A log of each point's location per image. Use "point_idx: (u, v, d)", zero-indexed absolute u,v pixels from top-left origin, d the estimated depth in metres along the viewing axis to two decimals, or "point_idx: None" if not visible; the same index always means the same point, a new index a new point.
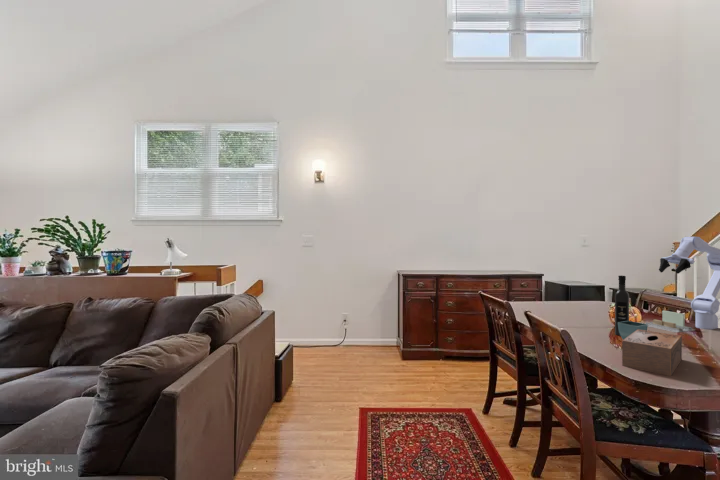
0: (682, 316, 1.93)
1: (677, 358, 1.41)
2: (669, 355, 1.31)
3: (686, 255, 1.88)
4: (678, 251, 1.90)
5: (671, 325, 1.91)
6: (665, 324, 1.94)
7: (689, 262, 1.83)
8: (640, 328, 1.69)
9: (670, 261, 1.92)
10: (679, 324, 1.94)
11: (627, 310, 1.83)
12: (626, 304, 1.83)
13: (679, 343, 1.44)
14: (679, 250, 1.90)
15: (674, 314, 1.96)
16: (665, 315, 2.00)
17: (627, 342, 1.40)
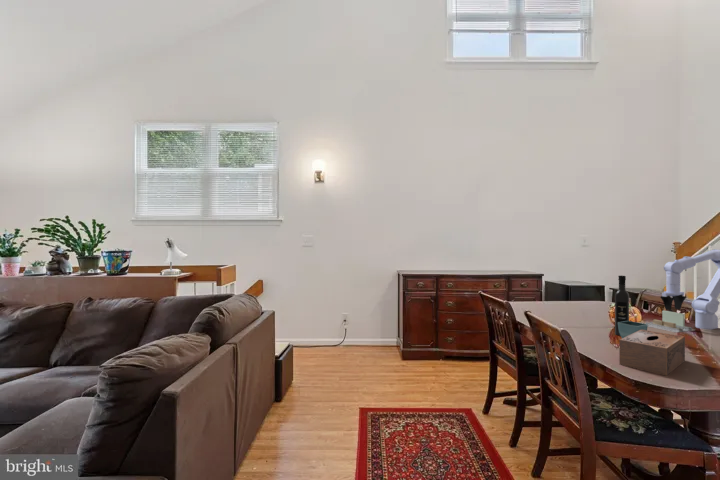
0: (682, 316, 1.93)
1: (677, 358, 1.40)
2: (665, 355, 1.32)
3: (669, 287, 1.97)
4: None
5: (671, 325, 1.91)
6: (665, 324, 1.94)
7: None
8: (640, 328, 1.69)
9: (676, 295, 1.98)
10: (679, 324, 1.94)
11: (627, 310, 1.83)
12: (626, 304, 1.83)
13: (681, 344, 1.43)
14: None
15: (674, 314, 1.96)
16: (665, 315, 2.00)
17: (624, 341, 1.41)
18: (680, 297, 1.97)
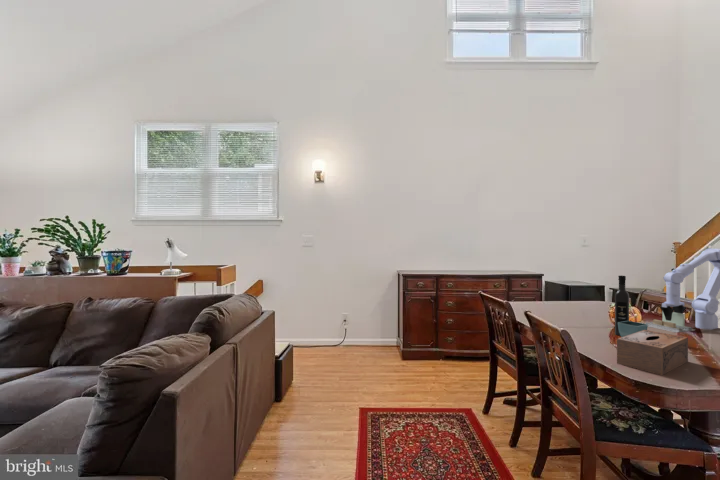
0: (682, 316, 1.93)
1: (677, 359, 1.40)
2: (661, 354, 1.32)
3: (669, 297, 1.97)
4: None
5: (671, 325, 1.91)
6: (665, 324, 1.94)
7: (665, 307, 1.96)
8: (640, 328, 1.69)
9: (676, 305, 1.98)
10: (679, 324, 1.94)
11: (627, 310, 1.83)
12: (626, 304, 1.83)
13: (682, 344, 1.43)
14: None
15: (674, 314, 1.96)
16: None
17: (621, 340, 1.43)
18: (680, 307, 1.97)
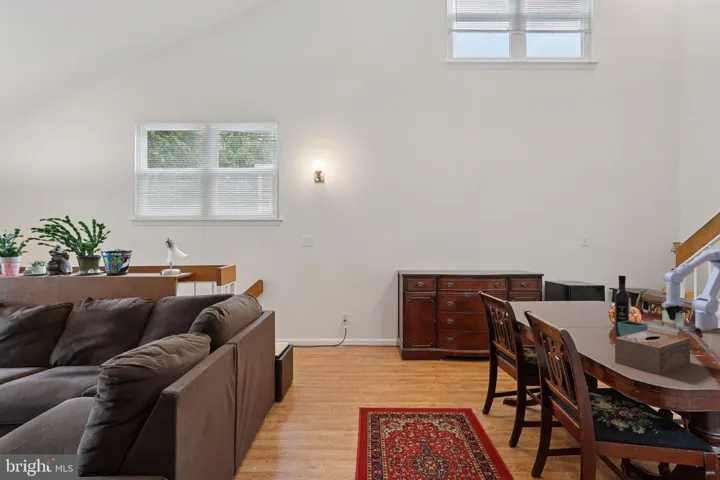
0: (682, 316, 1.93)
1: (677, 359, 1.40)
2: (657, 354, 1.33)
3: (669, 297, 1.97)
4: None
5: (671, 325, 1.91)
6: (665, 324, 1.94)
7: (665, 307, 1.96)
8: (640, 328, 1.69)
9: None
10: (679, 324, 1.94)
11: (627, 310, 1.83)
12: (626, 304, 1.83)
13: (683, 345, 1.42)
14: None
15: None
16: (665, 315, 2.00)
17: (619, 340, 1.44)
18: None
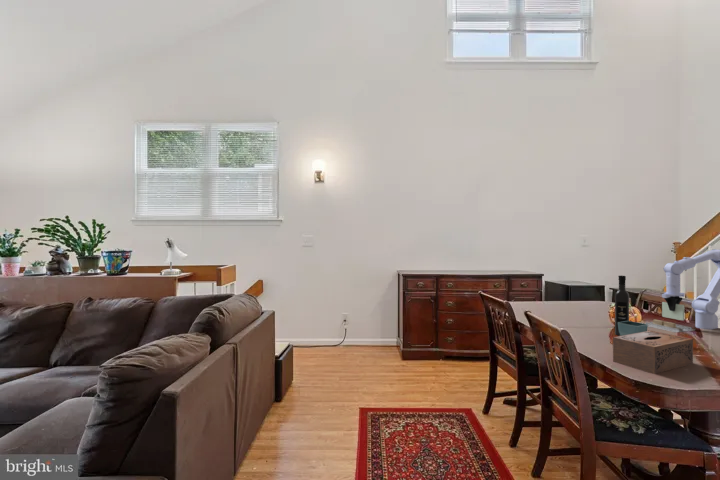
0: (682, 307, 1.93)
1: (677, 360, 1.39)
2: (653, 353, 1.33)
3: (669, 288, 1.97)
4: None
5: (671, 325, 1.91)
6: (665, 324, 1.94)
7: (665, 297, 1.95)
8: (640, 328, 1.69)
9: None
10: (679, 315, 1.94)
11: (627, 310, 1.83)
12: (626, 304, 1.83)
13: (684, 345, 1.41)
14: None
15: None
16: (665, 306, 2.01)
17: (617, 339, 1.45)
18: (676, 298, 1.96)
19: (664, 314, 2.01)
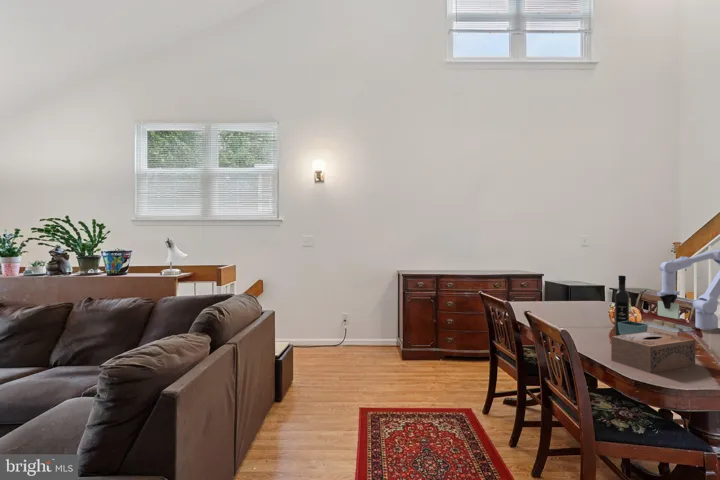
0: (677, 306, 1.96)
1: (677, 360, 1.39)
2: (648, 352, 1.34)
3: (664, 286, 2.00)
4: None
5: (671, 325, 1.91)
6: (665, 324, 1.94)
7: (660, 295, 1.99)
8: (640, 328, 1.69)
9: None
10: (674, 314, 1.97)
11: (627, 310, 1.83)
12: (626, 304, 1.83)
13: (685, 346, 1.40)
14: None
15: None
16: (660, 305, 2.04)
17: (615, 338, 1.46)
18: None
19: (660, 313, 2.04)
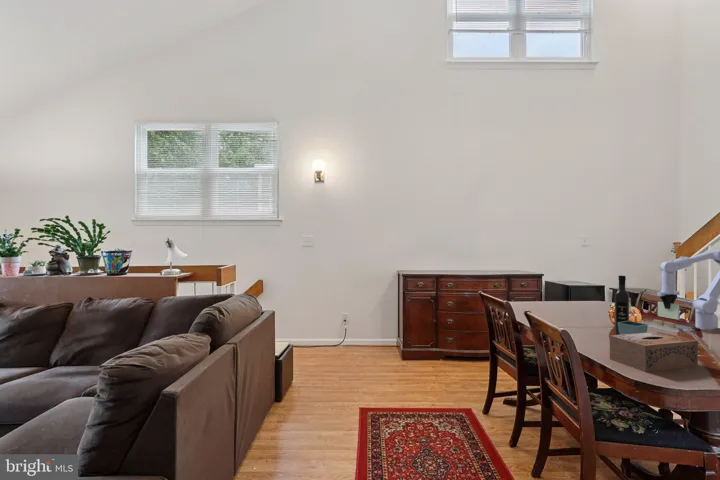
0: (677, 306, 1.96)
1: (676, 360, 1.38)
2: (643, 351, 1.35)
3: (664, 286, 2.00)
4: None
5: (671, 325, 1.91)
6: (665, 324, 1.94)
7: (660, 295, 1.99)
8: (640, 328, 1.69)
9: None
10: (674, 314, 1.97)
11: (627, 310, 1.83)
12: (626, 304, 1.83)
13: (686, 347, 1.39)
14: None
15: None
16: (660, 306, 2.04)
17: (613, 337, 1.47)
18: None
19: (660, 313, 2.04)
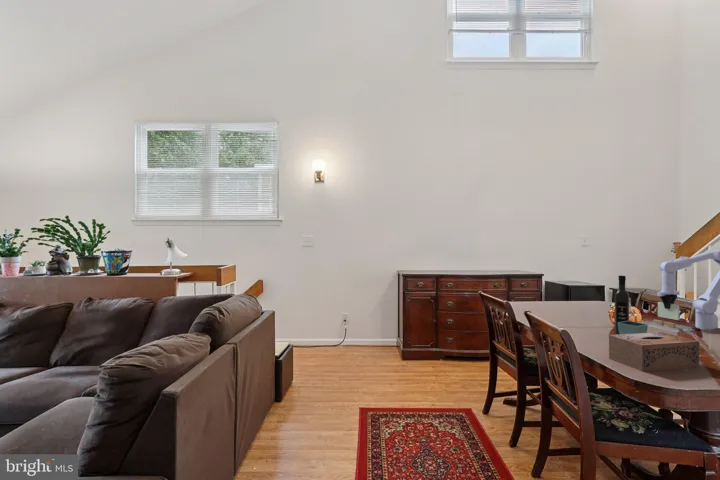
0: (677, 307, 1.96)
1: (675, 360, 1.38)
2: (641, 351, 1.36)
3: (664, 286, 2.00)
4: None
5: (671, 325, 1.91)
6: (665, 324, 1.94)
7: (660, 295, 1.99)
8: (640, 328, 1.69)
9: None
10: (674, 315, 1.97)
11: (627, 310, 1.83)
12: (626, 304, 1.83)
13: (686, 347, 1.39)
14: None
15: None
16: (660, 306, 2.04)
17: (612, 337, 1.48)
18: None
19: (660, 314, 2.04)
